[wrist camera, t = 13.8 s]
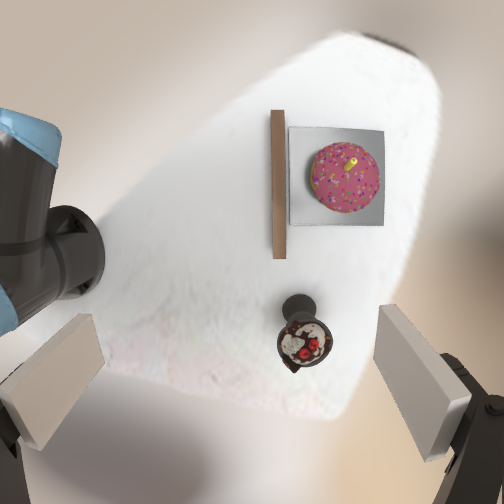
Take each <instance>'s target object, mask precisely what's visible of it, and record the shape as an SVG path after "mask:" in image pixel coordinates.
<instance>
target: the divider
mask: <svg viewBox="0 0 504 504" xmlns="http://www.w3.org/2000/svg"><path fill="white" fill-rule="evenodd" d="M271 145H272V201H273V259H286V159H285V118H284V110H271Z"/></svg>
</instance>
